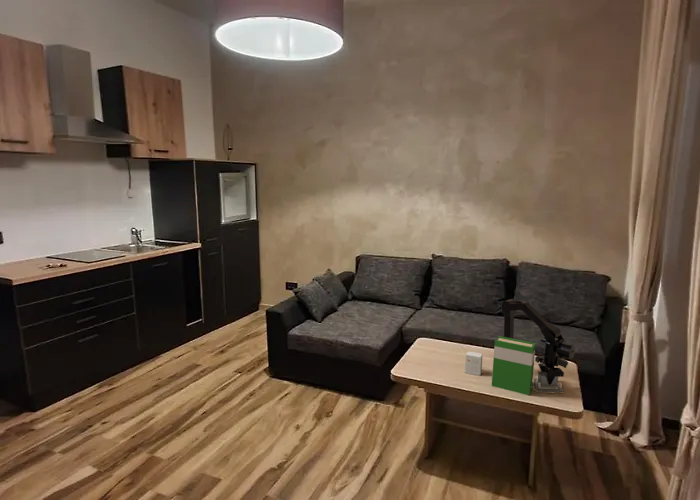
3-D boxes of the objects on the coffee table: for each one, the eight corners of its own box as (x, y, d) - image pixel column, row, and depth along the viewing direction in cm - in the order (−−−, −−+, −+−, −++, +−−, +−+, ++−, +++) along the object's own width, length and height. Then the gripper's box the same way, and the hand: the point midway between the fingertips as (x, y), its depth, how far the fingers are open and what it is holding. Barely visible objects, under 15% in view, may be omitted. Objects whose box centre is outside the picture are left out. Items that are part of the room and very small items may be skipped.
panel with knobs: (538, 392, 212) (538, 384, 211) (530, 383, 221) (530, 376, 220) (564, 392, 212) (565, 385, 212) (555, 384, 221) (556, 376, 220)
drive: (541, 386, 214) (542, 375, 213) (537, 381, 218) (538, 371, 218) (558, 386, 214) (559, 375, 213) (553, 382, 219) (554, 371, 218)
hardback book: (491, 385, 218) (494, 340, 214) (495, 380, 224) (498, 335, 220) (528, 395, 209) (533, 347, 205) (531, 389, 215) (535, 343, 211)
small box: (481, 372, 234) (483, 353, 232) (480, 376, 229) (481, 357, 227) (466, 369, 237) (467, 350, 235) (464, 373, 232) (465, 354, 230)
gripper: (576, 360, 204) (573, 391, 207) (557, 345, 223) (554, 373, 225) (553, 359, 204) (550, 391, 207) (536, 345, 223) (533, 373, 225)
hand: (547, 382), depth 216 cm, fingers closed on drive, 4 cm apart
